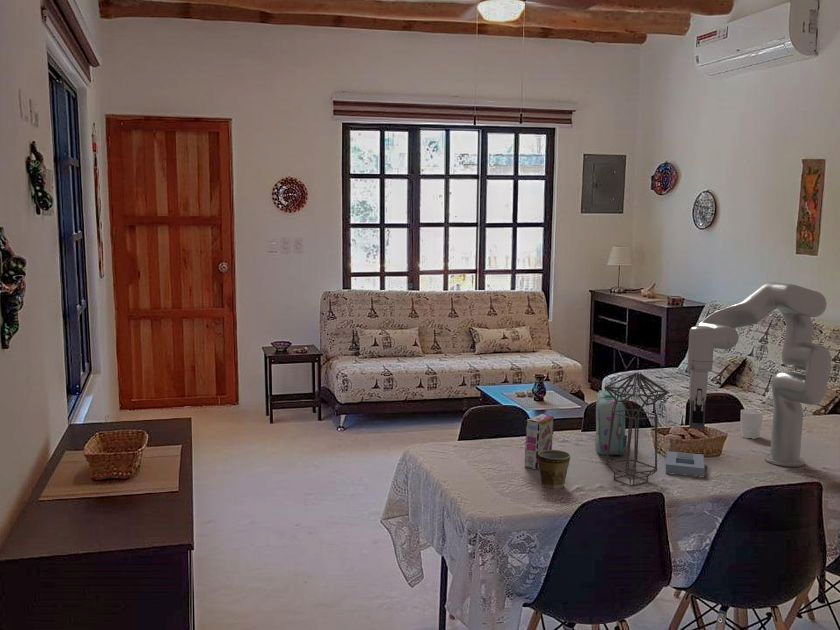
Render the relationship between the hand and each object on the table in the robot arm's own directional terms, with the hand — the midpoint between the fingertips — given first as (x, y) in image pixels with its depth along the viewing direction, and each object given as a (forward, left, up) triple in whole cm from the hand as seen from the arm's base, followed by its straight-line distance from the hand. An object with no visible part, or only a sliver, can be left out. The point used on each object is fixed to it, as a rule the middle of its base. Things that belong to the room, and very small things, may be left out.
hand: (697, 420), depth 262 cm
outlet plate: (-9, -3, -19) cm, 21 cm away
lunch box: (-23, -29, -19) cm, 42 cm away
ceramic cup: (+23, -43, -19) cm, 52 cm away
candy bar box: (+5, -50, -19) cm, 54 cm away
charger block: (0, 0, -2) cm, 2 cm away
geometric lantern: (+10, -19, -19) cm, 29 cm away
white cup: (-60, +21, -19) cm, 67 cm away
